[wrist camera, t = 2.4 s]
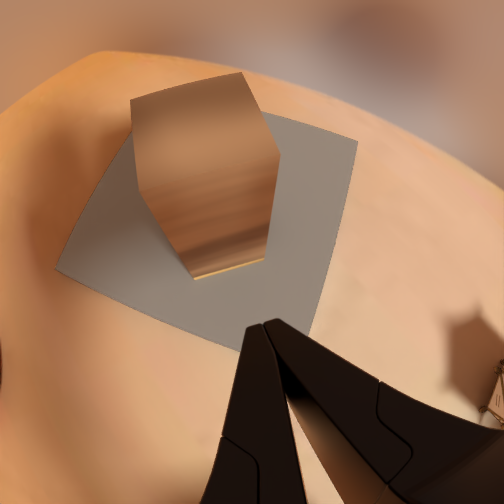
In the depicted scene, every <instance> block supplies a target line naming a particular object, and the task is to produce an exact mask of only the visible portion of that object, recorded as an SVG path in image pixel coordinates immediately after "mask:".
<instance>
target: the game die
mask: <svg viewBox="0 0 504 504" xmlns="http://www.w3.org/2000/svg"><path fill="white" fill-rule="evenodd" d="M501 364H502V365H503V366H504V360H502V359H501ZM494 372H495V373H496V374H499V375H498V378H497V381H496V384H495V387H494V390H493V392H492V395H491V398H490V400H489V403H488V406H484V407H482V408H481V409H480V410H479V411H480V412H482V413H483V412H485V411H486V410H489V411H490V412H491V413H492V414H493V416H494V417H495V418H496V419H497V420H498V421H499V422H500V423H501V424H502V425H501V429H504V367H503V368H502V369H501V368H499V367H498V366H497V367H494Z"/></svg>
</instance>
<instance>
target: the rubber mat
mask: <svg viewBox="0 0 504 504" xmlns="http://www.w3.org/2000/svg"><path fill="white" fill-rule="evenodd" d="M261 113H262V115H263V117H264V119H265V121H266V123H267V125H268V128H269V130H270V132H271V134H272V136H273V138H274V140H275V143H276V145H277V147H278V149H279V151H280V154H281V156H280V162H279V169H278V175H277V182H276V188H275V195H274V201H273V207H272V214H271V220H270V226H269V232H268V239H267V245H266V251H265V257H264V261H260V262H257V263H253V264H250V265H246V266H243V267H239V268H236V269H232V270H229V271H225V272H222V273H218V274H215V275H211V276H208V277H204V278H201V279H197V280H194V278H193V277H192V275H191V274H190V272H189V271H188V269H187V268H186V266H185V265H184V263H183V262H182V260H181V259H180V257H179V255H178V254H177V252H176V251H175V249H174V248H173V246H172V244H171V243H170V241H169V240H168V238H167V236H166V235H165V233H164V232H163V230H162V228H161V227H160V225H159V224H158V222H157V220H156V219H155V217H154V215H153V214H152V212H151V210H150V209H149V207H148V206H147V204H146V202H145V201H144V199H143V197H142V195H141V194H140V192H139V186H138V178H137V170H136V162H135V152H134V143H133V132H131V133H130V135H129V136H128V138H127V139H126V141H125V142H124V144H123V145H122V147H121V148H120V150H119V151H118V153H117V154H116V156H115V157H114V159H113V160H112V162H111V164H110V165H109V167H108V168H107V170H106V172H105V173H104V175H103V177H102V178H101V180H100V182H99V183H98V185H97V187H96V188H95V190H94V192H93V194H92V195H91V197H90V199H89V201H88V203H87V204H86V206H85V208H84V210H83V212H82V214H81V215H80V217H79V219H78V221H77V223H76V225H75V227H74V229H73V231H72V233H71V235H70V237H69V239H68V241H67V243H66V245H65V247H64V249H63V252H62V254H61V256H60V258H59V260H58V263H57V265H56V267H55V270H57V271H59V272H61V273H62V274H64V275H66V276H68V277H70V278H72V279H74V280H76V281H78V282H79V283H81V284H83V285H85V286H87V287H89V288H91V289H93V290H95V291H97V292H99V293H101V294H103V295H105V296H107V297H110V298H112V299H114V300H116V301H118V302H120V303H122V304H124V305H126V306H129V307H131V308H133V309H135V310H137V311H140V312H142V313H144V314H146V315H149V316H151V317H153V318H155V319H158V320H160V321H162V322H165V323H167V324H169V325H172V326H174V327H177V328H179V329H181V330H184V331H186V332H189V333H191V334H194V335H196V336H199V337H201V338H204V339H207V340H209V341H212V342H214V343H217V344H220V345H222V346H225V347H228V348H231V349H233V350H236V351H239V352H240V351H241V347H242V342H243V338H244V334H245V329H246V328H247V327H248V326H251V325H255V324H258V323H261V324H263V323H264V322H265V321H268V320H271V319H274V318H280V319H281V320H283V321H284V322H286V323H287V324H289V325H291V326H292V327H294V328H295V329H297V330H299V331H300V332H302V333H303V334H305V335H306V336H308V334H309V331H310V328H311V325H312V322H313V318H314V315H315V312H316V309H317V305H318V302H319V299H320V295H321V292H322V289H323V285H324V282H325V278H326V275H327V271H328V268H329V264H330V260H331V257H332V253H333V249H334V245H335V242H336V238H337V234H338V230H339V226H340V222H341V218H342V214H343V210H344V205H345V201H346V197H347V193H348V188H349V184H350V179H351V175H352V170H353V165H354V160H355V155H356V150H357V145H358V141H355V140H353V139H350V138H347V137H344V136H342V135H339V134H336V133H333V132H330V131H327V130H324V129H321V128H318V127H314V126H311V125H308V124H305V123H301V122H298V121H295V120H291V119H288V118H284V117H281V116H277V115H273V114H269V113H266V112H262V111H261Z"/></svg>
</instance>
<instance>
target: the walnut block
mask: <svg viewBox="0 0 504 504" xmlns="http://www.w3.org/2000/svg"><path fill="white" fill-rule="evenodd" d="M130 105H131V120H132V132H133V143H134V152H135V162H136V170H137V178H138V186H139V192H140V194H141V195H142V197H143V199H144V201H145V202H146V204H147V206H148V207H149V209H150V210H151V212H152V214H153V215H154V217H155V219H156V220H157V222H158V224H159V225H160V227H161V228H162V230H163V232H164V233H165V235H166V236H167V238H168V240H169V241H170V243H171V244H172V246H173V248H174V249H175V251H176V252H177V254H178V255H179V257H180V259H181V260H182V262H183V263H184V265H185V266H186V268H187V269H188V271H189V272H190V274H191V275H192V277H193V278H194V280H197V279H201V278H204V277H208V276H211V275H215V274H218V273H222V272H225V271H229V270H232V269H236V268H239V267H243V266H246V265H250V264H253V263H257V262H260V261H264V257H265V251H266V245H267V239H268V232H269V226H270V220H271V214H272V207H273V201H274V195H275V188H276V182H277V175H278V169H279V162H280V156H281V154H280V151H279V149H278V147H277V145H276V143H275V140H274V138H273V136H272V134H271V132H270V130H269V128H268V125H267V123H266V121H265V119H264V117H263V115H262V113H261V111H260V109H259V106H258V104H257V102H256V100H255V98H254V96H253V94H252V92H251V90H250V88H249V86H248V84H247V82H246V80H245V78H244V76H243V74H242V72H239V73H234V74H228V75H223V76H218V77H213V78H209V79H204V80H200V81H195V82H191V83H187V84H183V85H179V86H175V87H172V88H168V89H164V90H161V91H157V92H154V93H151V94H147V95H144V96H141V97H138V98H135V99H132V100H130Z"/></svg>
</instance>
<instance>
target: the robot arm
mask: <svg viewBox="0 0 504 504" xmlns="http://www.w3.org/2000/svg"><path fill="white" fill-rule="evenodd" d="M287 401H288V403H289V405H290V407H291V409H292V411H293V413H294V415H295V417H296V418H297V420H298V422H299V424H300V426H301V428H302V430H303V431H304V433H305V435H306V437H307V439H308V440H309V442H310V444H311V446H312V448H313V450H314V451H315V453H316V455H317V457H318V458H319V460H320V462H321V464H322V466H323V467H324V469H325V471H326V473H327V474H328V476H329V478H330V480H331V481H332V483H333V485H334V487H335V488H336V490H337V492H338V493H339V495H340V497H341V499H342V500H343V502H344V504H504V429H494V428H489V427H485V426H482V425H479V424H476V423H473V422H470V421H468V420H465V419H462V418H459V417H457V416H454V415H452V414H449V413H446V412H444V411H441V410H439V409H436V408H434V407H431V406H429V405H427V404H424V403H422V402H420V401H418V400H415V399H413V398H411V397H409V396H408V395H406V394H404V393H402V392H400V391H398V390H396V389H394V388H393V387H391V386H389V385H387V384H386V383H384V382H382V381H381V382H379V379H377V378H375V377H374V376H372V375H370V374H369V373H367V372H365V371H364V370H362V369H360V368H359V367H357V366H355V365H354V364H352V363H350V362H349V361H347V360H345V359H344V358H342V357H340V356H339V355H337V354H335V353H334V352H332V351H331V350H329V349H327V348H326V347H324V346H322V345H321V344H319V343H318V342H316V341H314V340H313V339H311V338H310V337H308V336H306V335H305V334H303V333H302V332H300V331H299V330H297V329H295V328H294V327H292V326H291V325H289V324H287V323H286V322H284V321H283V320H281V319H280V318H274V319H271V320H268V321H265V322H264V323H263V324H261V323H258V324H255V325H251V326H248V327H247V328H246V329H245V334H244V338H243V342H242V347H241V351H240V356H239V360H238V365H237V369H236V373H235V378H234V382H233V386H232V391H231V395H230V400H229V404H228V408H227V412H226V417H225V421H224V425H223V430H222V437H221V438H220V442H219V446H218V450H217V454H216V458H215V461H214V465H213V468H212V472H211V475H210V477H209V480H208V483H207V486H206V488H205V491H204V494H203V496H202V498H201V501H200V503H199V504H308V499H307V495H306V490H305V485H304V480H303V475H302V471H301V466H300V461H299V456H298V451H297V447H296V442H295V437H294V432H293V428H292V423H291V418H290V413H289V409H288V404H287Z"/></svg>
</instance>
